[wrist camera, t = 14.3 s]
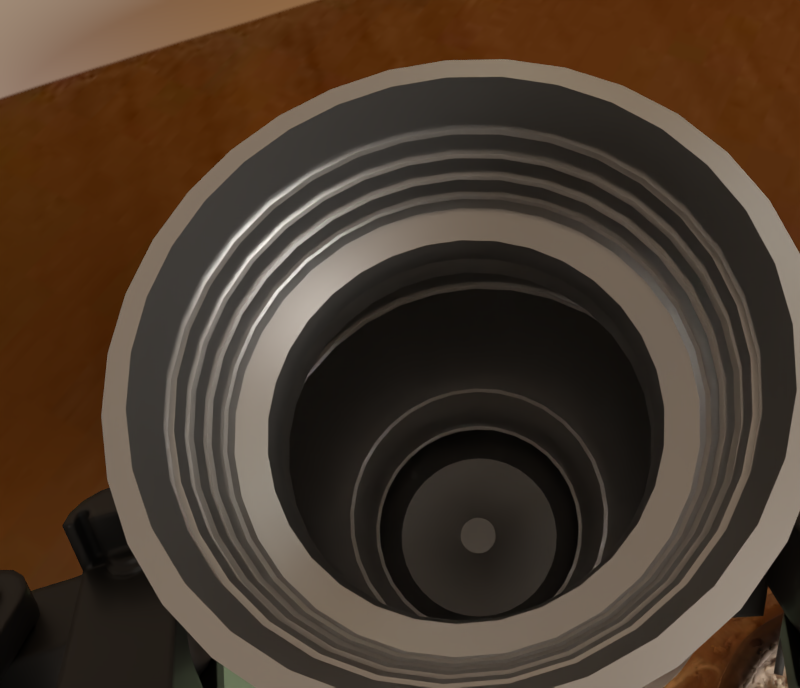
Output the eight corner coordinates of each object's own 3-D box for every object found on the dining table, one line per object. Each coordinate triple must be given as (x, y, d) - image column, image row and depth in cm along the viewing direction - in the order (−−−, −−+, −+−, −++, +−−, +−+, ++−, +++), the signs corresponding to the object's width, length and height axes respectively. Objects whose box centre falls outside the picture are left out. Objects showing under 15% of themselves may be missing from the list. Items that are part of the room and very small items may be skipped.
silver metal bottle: (349, 509, 23) (-282, 241, 4) (504, 405, 23) (578, -256, 5) (450, 681, 21) (81, 1837, 2) (619, 561, 21) (1673, 516, 2)
